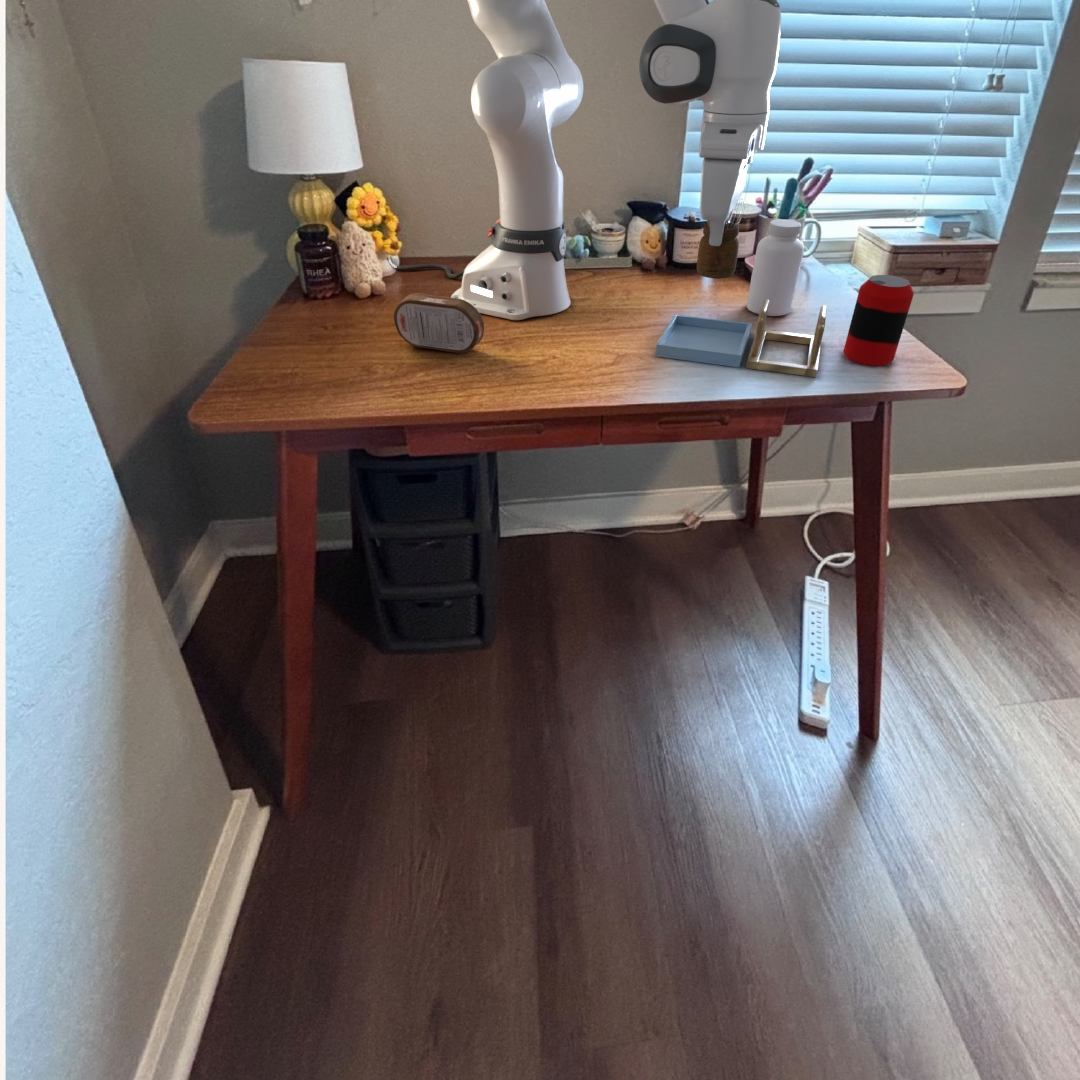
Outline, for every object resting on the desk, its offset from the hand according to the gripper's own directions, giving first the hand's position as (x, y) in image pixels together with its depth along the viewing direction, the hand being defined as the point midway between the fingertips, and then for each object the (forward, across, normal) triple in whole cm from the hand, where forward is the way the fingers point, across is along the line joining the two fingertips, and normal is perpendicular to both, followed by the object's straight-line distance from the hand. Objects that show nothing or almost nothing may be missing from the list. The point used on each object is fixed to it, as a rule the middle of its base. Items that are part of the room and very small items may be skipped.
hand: (718, 238), depth 109 cm
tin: (+17, +16, -41) cm, 47 cm away
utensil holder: (+5, 0, 0) cm, 5 cm away
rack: (+17, 0, +13) cm, 21 cm away
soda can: (+17, -4, +25) cm, 31 cm away
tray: (+17, 0, 0) cm, 17 cm away
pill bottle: (+17, -20, +8) cm, 28 cm away
